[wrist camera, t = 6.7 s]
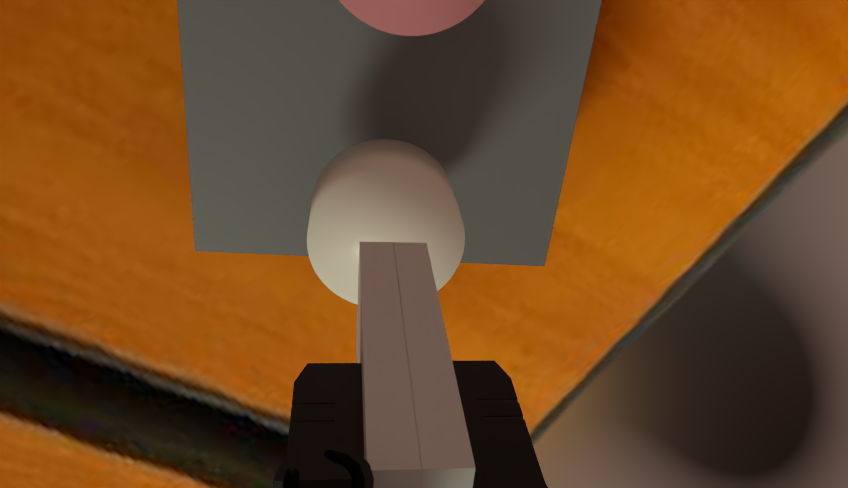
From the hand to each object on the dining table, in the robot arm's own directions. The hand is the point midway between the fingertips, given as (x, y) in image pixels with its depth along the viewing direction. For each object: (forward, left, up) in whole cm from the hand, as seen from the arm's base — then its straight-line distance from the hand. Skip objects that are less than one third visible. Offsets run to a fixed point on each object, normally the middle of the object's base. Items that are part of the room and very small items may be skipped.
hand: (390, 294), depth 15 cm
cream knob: (0, -3, -16) cm, 16 cm away
